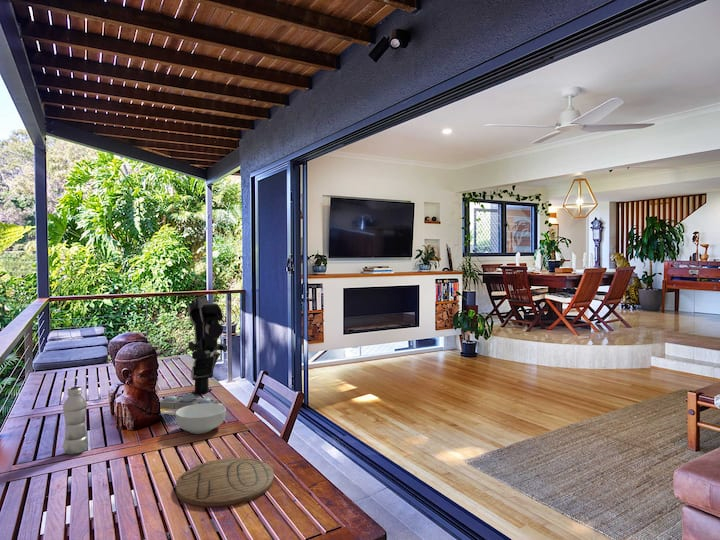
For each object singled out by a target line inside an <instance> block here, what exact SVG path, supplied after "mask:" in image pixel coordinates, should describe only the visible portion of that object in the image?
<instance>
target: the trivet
mask: <svg viewBox="0 0 720 540" xmlns="http://www.w3.org/2000/svg"><path fill="white" fill-rule="evenodd" d="M274 481H275V473H274V468H273V467H272V466H271V465H270V464H268V463H267V462H265V461H263V460H260V459H256V458H249V457H228V458H226V457H225V458H219V459H214V460H209V461H206V462H204V463H201V464H198V465H196V466H194V467H192V468H191V467H190V469H188V470H187V471H185V472H184V473H182V474H181V475H180V477H178V479H177V480H176V483H175V494H176V495H175V496H176V497H177V499H178V500H180V502H182V503H183V504H186V505H188V506H191V507H195V508H202V509H221V508H229V507H235V506H237V505H242V504H245V503H248V502H250V501H253V500H255V499H257V498H259V497H261V496H263V495H264V494H266V492H268V491H269V490H270V488H271V487H272V486H273V484H274Z"/></svg>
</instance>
